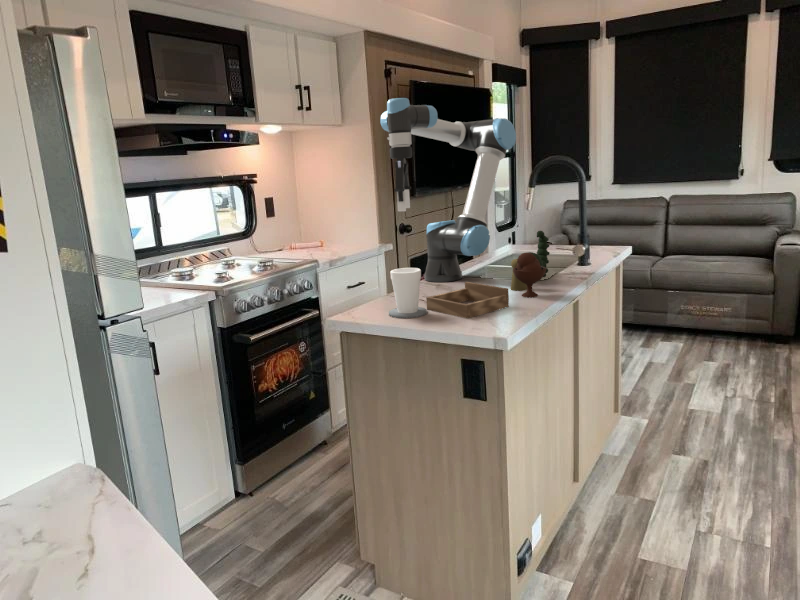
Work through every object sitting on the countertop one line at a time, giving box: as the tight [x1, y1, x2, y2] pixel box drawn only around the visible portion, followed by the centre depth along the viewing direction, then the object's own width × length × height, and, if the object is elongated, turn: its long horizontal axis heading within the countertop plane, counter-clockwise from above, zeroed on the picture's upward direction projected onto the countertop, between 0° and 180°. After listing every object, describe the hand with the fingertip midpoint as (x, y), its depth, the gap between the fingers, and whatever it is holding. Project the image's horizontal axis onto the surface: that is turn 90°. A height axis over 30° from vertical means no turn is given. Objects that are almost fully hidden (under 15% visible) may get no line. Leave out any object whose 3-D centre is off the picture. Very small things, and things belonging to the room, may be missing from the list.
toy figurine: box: [526, 230, 550, 278], centre depth 236 cm, size 9×19×25 cm
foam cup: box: [389, 267, 422, 313], centre depth 194 cm, size 10×9×13 cm
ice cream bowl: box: [512, 252, 547, 298], centre depth 208 cm, size 11×11×15 cm
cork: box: [510, 258, 527, 292], centre depth 220 cm, size 6×6×11 cm
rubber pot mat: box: [388, 306, 428, 319], centre depth 196 cm, size 12×12×1 cm
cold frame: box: [425, 281, 510, 319], centre depth 197 cm, size 18×18×6 cm
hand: (404, 209), depth 214 cm, fingers open, 13 cm apart
